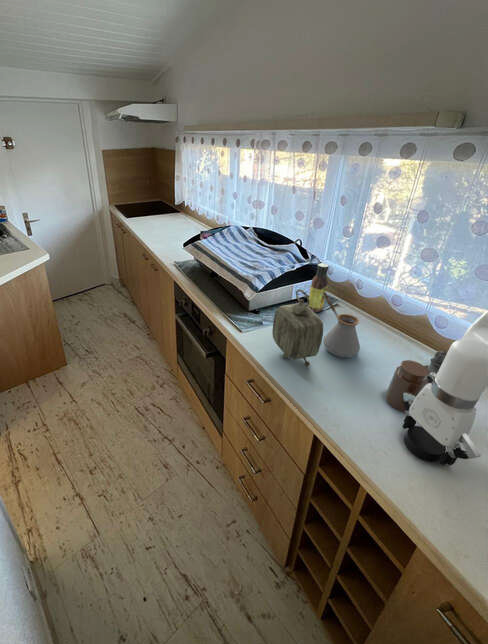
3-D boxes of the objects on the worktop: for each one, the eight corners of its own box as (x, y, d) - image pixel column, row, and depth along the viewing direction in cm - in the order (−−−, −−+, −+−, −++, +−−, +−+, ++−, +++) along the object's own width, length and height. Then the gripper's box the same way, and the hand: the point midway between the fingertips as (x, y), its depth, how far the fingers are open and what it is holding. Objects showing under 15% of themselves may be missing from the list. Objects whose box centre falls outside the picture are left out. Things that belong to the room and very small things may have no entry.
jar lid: (409, 457, 71) (413, 450, 70) (399, 430, 78) (402, 422, 76) (447, 466, 69) (452, 458, 68) (433, 437, 76) (438, 429, 74)
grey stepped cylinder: (444, 390, 89) (461, 358, 83) (420, 385, 91) (435, 354, 85) (437, 376, 94) (452, 345, 88) (414, 372, 96) (428, 341, 90)
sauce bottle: (322, 313, 126) (332, 269, 116) (306, 311, 128) (315, 267, 118) (322, 305, 131) (331, 263, 122) (306, 303, 133) (315, 261, 124)
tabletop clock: (314, 368, 97) (331, 301, 86) (289, 373, 96) (302, 305, 84) (291, 341, 110) (302, 279, 98) (268, 345, 108) (277, 282, 96)
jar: (409, 394, 88) (425, 361, 82) (419, 414, 82) (436, 380, 76) (381, 389, 90) (395, 356, 84) (389, 408, 84) (403, 374, 78)
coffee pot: (365, 359, 101) (378, 321, 94) (333, 363, 100) (343, 325, 93) (329, 323, 120) (337, 289, 113) (302, 325, 118) (308, 292, 111)
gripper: (404, 368, 72) (383, 417, 80) (483, 431, 57) (448, 484, 65) (429, 362, 73) (407, 411, 81) (513, 422, 58) (475, 475, 66)
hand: (425, 443), depth 73 cm, fingers open, 9 cm apart
